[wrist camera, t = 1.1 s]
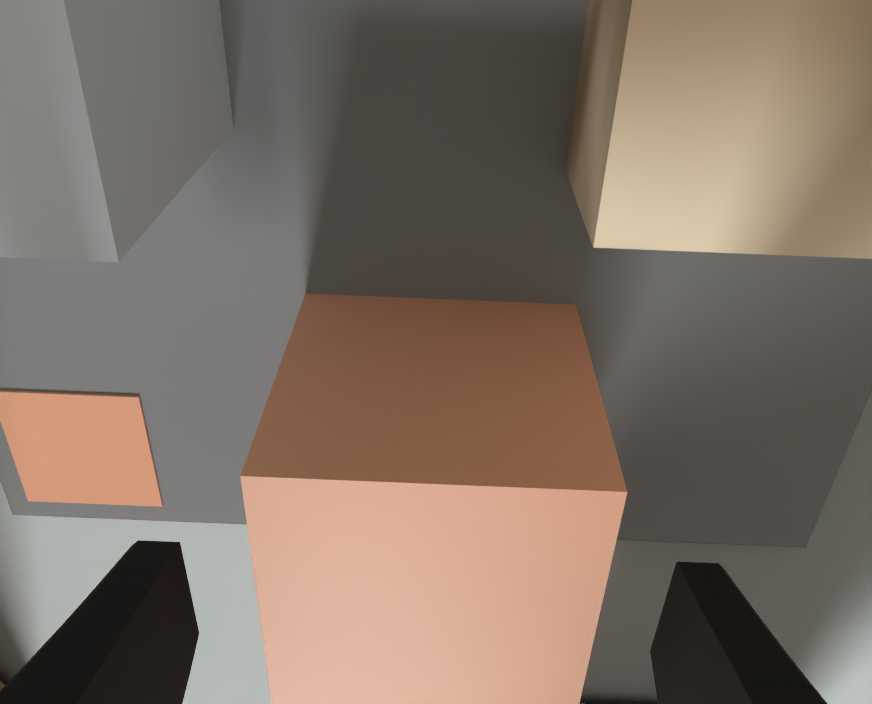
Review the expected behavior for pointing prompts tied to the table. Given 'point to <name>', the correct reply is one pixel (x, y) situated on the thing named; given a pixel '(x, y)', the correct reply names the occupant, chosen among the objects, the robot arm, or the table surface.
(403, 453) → the terracotta cube
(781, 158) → the maple block
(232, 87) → the grey square mat
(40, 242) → the blue-grey cube
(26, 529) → the table surface
